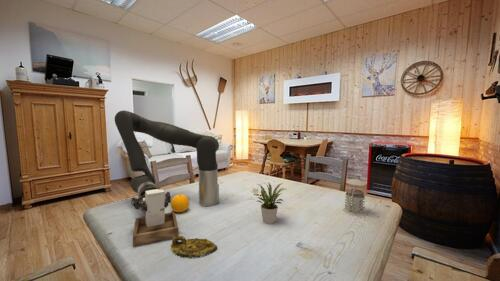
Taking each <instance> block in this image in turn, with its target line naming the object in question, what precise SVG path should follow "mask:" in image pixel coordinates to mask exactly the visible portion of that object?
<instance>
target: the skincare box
mask: <svg viewBox="0 0 500 281" xmlns="http://www.w3.org/2000/svg"><path fill="white" fill-rule="evenodd" d="M165 193H166V192H165V191H164V188H158V189H154V190H148V191H145V202H146V205H147V212H145V217H146V225H147V227H151V226H155V225H160V224H164V223H165V213H166V210H165V209H166V208H165Z"/></svg>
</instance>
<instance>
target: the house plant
mask: <svg viewBox="0 0 500 281" xmlns="http://www.w3.org/2000/svg"><path fill="white" fill-rule="evenodd" d="M264 184H265V185H266V186H267V190H268V193H267V191H266V189H265V188H264V187H263V186H262V185H261V184H259V183H258V186H259V187H260V192H261V195H262V196H261V197H257V196H258V195H255V196H256V197H255V198H258V199H260V200H256V202H257V203H261V205H260V210H261V217H262V222H263V223H265V224H268V225H269V224H274V223H275V222H276V219H277V214H278V210H279V209H278V207H279V205H278V204H281V205H283V204H282V202H284V200H283V199H282V198H279V199H278V197H279V196H280V195H282V193H283V191H284V190H286V188H284V187H281V188H280V189H279V187H280V186H281V185H282V184H284V183H283V182H282V183H279V184H277V186H276V187H275V188H274V189H273V188H272V184H271V182H269V181H268V182H267V183H266V182H264ZM256 190H257V189H256ZM272 190H273V191H272ZM281 192H282V193H281ZM281 201H282V202H281Z"/></svg>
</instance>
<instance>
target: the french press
mask: <svg viewBox="0 0 500 281" xmlns="http://www.w3.org/2000/svg"><path fill="white" fill-rule="evenodd" d="M354 161H355V162H360V159H359V158H355V159H354ZM357 174H358V167H356V172H355V178H350V179H348V180H346V181H345V183H346V184H347V185H349V186H352V187H355V188H352V187H349V188H348V189H347V190H346V193H345V199H344V200H345V202H344V203H345V205H344V208H343V209H342V212H343V211H344V212H345V214H346V215H348V214H349V215H348V216H351V215H352V217H355V216H357V217H356V218H362V216H364V217H365V215H366V216H367V213H366V212H365V209H364V208H365V200H366V197H365V192H364V191H362V189H361V190H360V189H357V187H364V186H366V185H367V184H366V182H364V181H362V180H361V179H358V177H357ZM344 212H343V213H344Z"/></svg>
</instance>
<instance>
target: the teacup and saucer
mask: <svg viewBox="0 0 500 281" xmlns="http://www.w3.org/2000/svg"><path fill="white" fill-rule="evenodd" d="M256 189H257V190H256ZM251 192H253V193H252V195H251V196H252V198H255V197H254V196H259V197H260V195H261V191H260V192H259V187H253V188H252V190H250V193H251ZM258 192H259V193H258ZM260 198H261V197H260Z"/></svg>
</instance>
